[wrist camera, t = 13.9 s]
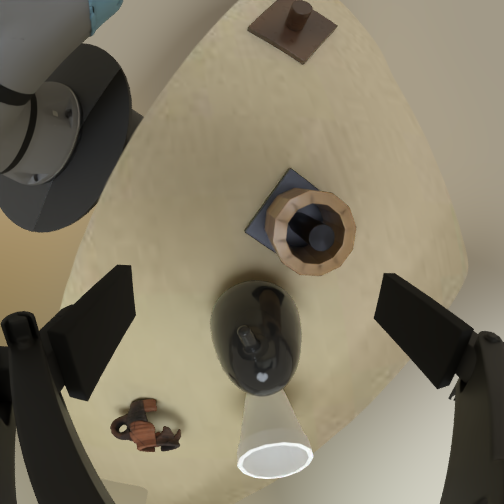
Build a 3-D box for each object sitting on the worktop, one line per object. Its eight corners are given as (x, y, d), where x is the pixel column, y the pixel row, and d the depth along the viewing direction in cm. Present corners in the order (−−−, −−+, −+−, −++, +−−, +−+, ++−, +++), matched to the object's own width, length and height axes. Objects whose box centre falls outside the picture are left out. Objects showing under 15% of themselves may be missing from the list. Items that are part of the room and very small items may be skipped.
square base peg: (244, 230, 33) (248, 251, 24) (289, 168, 32) (311, 163, 22) (303, 271, 35) (328, 304, 25) (345, 213, 34) (385, 226, 24)
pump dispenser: (278, 257, 34) (310, 313, 20) (300, 327, 37) (334, 404, 22) (200, 284, 35) (179, 353, 20) (229, 350, 37) (229, 434, 22)
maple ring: (251, 231, 32) (256, 245, 26) (292, 174, 31) (307, 173, 24) (305, 268, 34) (322, 290, 27) (344, 215, 33) (370, 225, 26)
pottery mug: (171, 393, 39) (181, 441, 33) (177, 410, 45) (187, 450, 40) (101, 400, 36) (106, 446, 30) (117, 416, 42) (123, 455, 36)
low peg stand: (247, 30, 27) (249, 8, 22) (283, -3, 26) (290, -25, 20) (303, 64, 29) (314, 46, 23) (335, 28, 27) (349, 10, 22)
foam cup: (258, 366, 38) (267, 434, 26) (306, 387, 40) (328, 450, 27) (224, 404, 40) (223, 469, 27) (271, 422, 42) (281, 482, 29)
